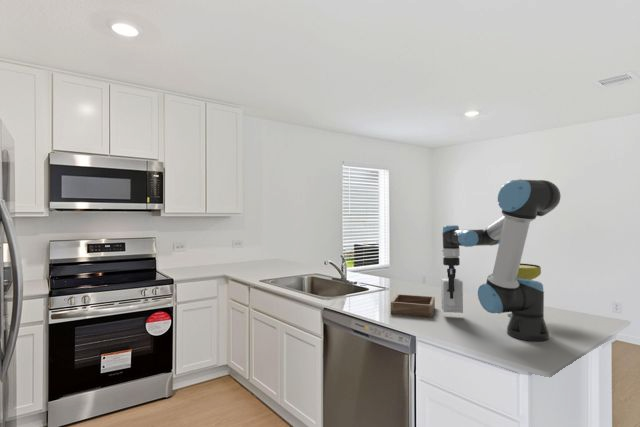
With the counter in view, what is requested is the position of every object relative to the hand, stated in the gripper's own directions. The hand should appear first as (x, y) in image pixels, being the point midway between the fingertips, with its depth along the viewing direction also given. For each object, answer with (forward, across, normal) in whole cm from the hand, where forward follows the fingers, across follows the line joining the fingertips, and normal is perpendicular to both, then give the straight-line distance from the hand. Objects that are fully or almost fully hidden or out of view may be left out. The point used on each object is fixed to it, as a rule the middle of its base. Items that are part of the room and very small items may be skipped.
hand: (452, 303), depth 181 cm
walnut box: (+7, -6, -19) cm, 21 cm away
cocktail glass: (+7, -12, +31) cm, 34 cm away
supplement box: (+4, 0, 0) cm, 4 cm away
